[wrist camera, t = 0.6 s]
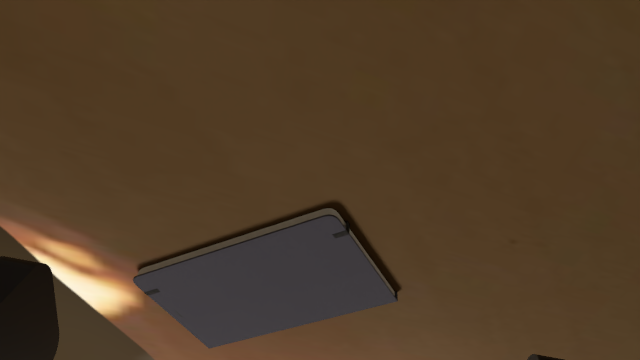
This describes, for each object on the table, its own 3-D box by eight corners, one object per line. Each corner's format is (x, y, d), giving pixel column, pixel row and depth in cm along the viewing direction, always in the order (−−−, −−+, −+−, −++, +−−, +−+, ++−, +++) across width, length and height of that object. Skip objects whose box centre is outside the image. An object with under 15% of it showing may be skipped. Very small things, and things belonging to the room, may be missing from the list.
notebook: (211, 335, 63) (397, 287, 55) (208, 348, 62) (398, 301, 54) (133, 266, 56) (335, 199, 48) (128, 279, 55) (334, 213, 47)
